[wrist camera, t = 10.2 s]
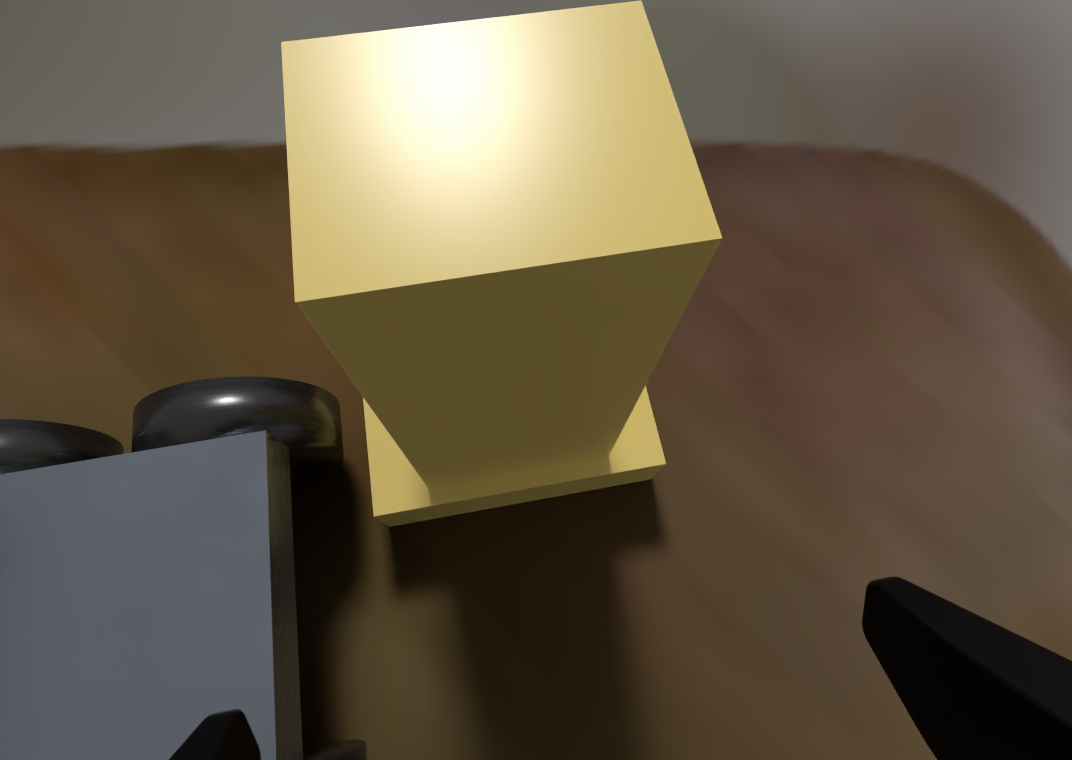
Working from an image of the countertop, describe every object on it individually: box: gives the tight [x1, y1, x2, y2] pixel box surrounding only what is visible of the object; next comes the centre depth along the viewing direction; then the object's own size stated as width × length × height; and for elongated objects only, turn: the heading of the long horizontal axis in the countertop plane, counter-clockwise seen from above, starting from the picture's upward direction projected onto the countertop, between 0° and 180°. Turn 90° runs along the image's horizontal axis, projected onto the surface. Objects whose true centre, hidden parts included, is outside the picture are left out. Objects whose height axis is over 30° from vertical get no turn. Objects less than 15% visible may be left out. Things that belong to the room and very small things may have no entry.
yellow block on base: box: [281, 1, 722, 527], centre depth 14 cm, size 5×8×12 cm, turn 100°
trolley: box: [0, 377, 367, 760], centre depth 13 cm, size 10×11×8 cm
